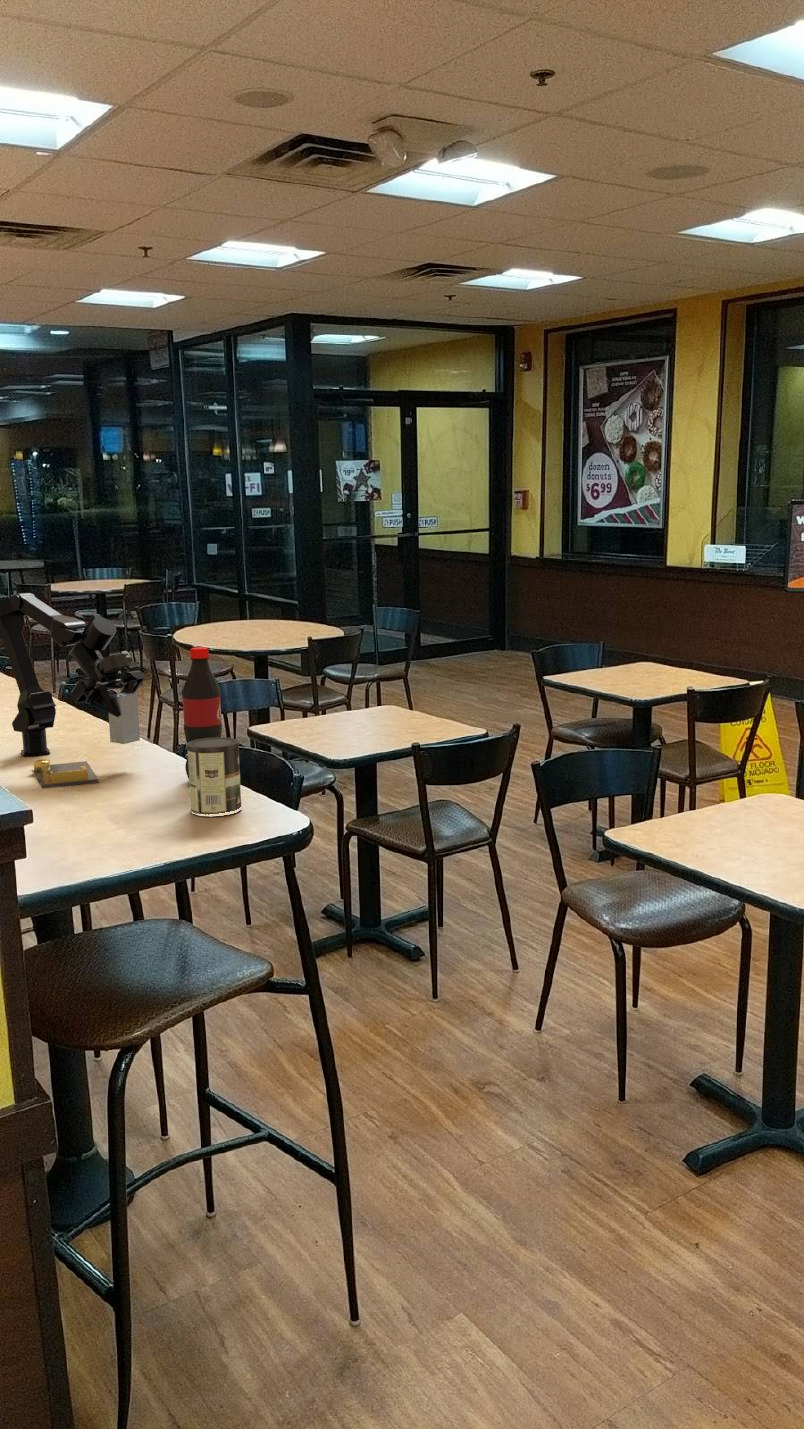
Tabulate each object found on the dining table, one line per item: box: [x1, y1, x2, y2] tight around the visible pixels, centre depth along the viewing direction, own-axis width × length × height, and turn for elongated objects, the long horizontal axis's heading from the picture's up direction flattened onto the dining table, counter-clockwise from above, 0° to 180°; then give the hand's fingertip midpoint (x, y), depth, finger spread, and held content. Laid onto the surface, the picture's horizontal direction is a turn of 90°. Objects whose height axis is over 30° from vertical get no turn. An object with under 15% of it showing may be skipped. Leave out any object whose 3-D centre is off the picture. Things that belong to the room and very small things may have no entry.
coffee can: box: [186, 736, 242, 815], centre depth 216 cm, size 10×10×14 cm
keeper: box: [33, 758, 100, 789], centre depth 249 cm, size 20×12×3 cm, turn 23°
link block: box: [108, 693, 141, 745], centre depth 253 cm, size 4×5×11 cm
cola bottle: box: [181, 646, 223, 780], centre depth 240 cm, size 8×8×30 cm
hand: (127, 713), depth 252 cm, fingers closed on link block, 5 cm apart
